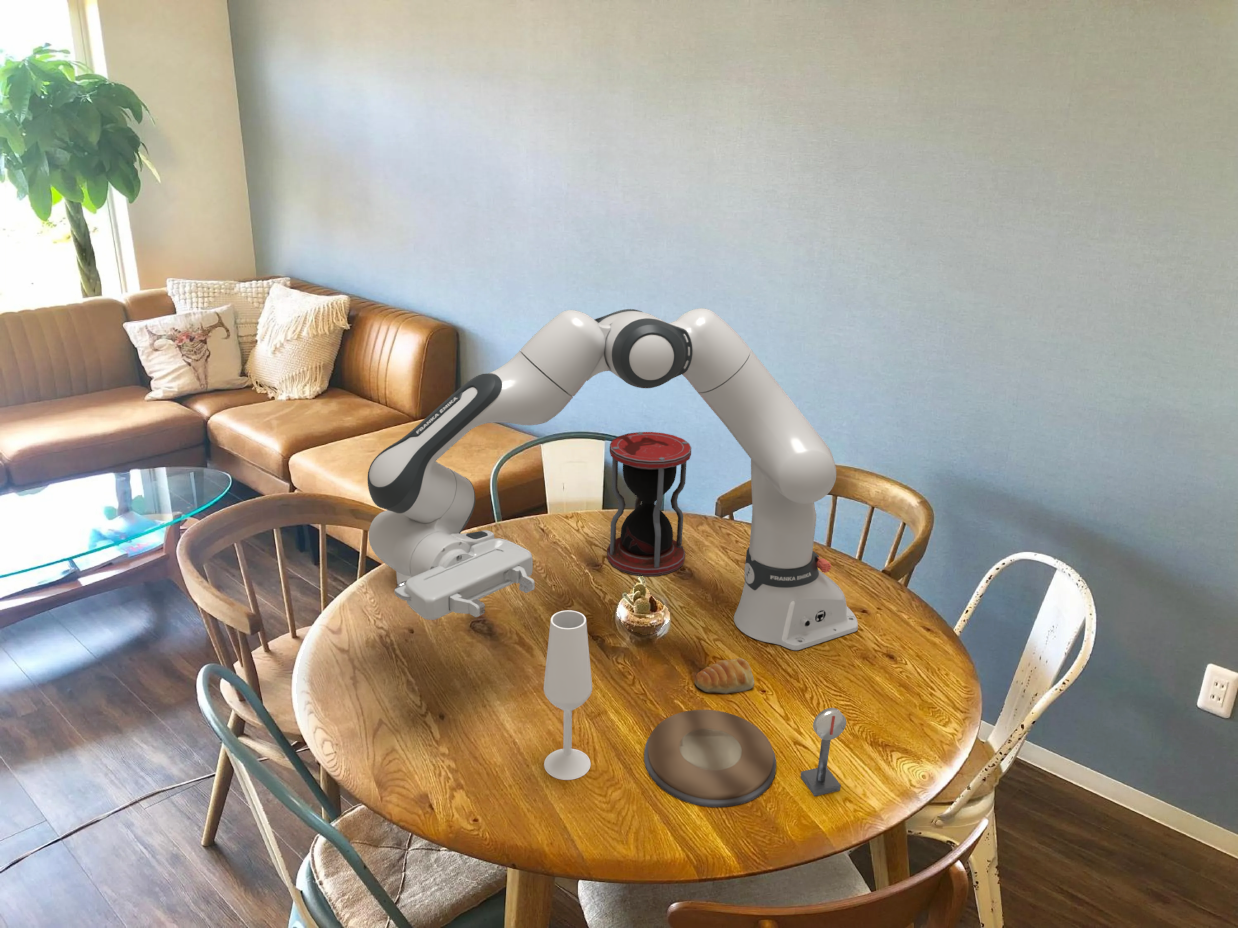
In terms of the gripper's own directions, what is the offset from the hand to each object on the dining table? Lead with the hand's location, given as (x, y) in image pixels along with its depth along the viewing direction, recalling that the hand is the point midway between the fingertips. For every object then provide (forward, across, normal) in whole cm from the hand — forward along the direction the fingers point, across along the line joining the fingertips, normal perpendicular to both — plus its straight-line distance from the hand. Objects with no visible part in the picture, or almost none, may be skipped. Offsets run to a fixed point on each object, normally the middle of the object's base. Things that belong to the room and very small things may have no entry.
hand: (506, 598), depth 131 cm
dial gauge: (+41, +22, +22) cm, 51 cm away
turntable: (+27, +15, +22) cm, 38 cm away
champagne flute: (+12, 0, +22) cm, 26 cm away
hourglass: (-20, +56, +22) cm, 63 cm away
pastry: (+18, +32, +22) cm, 43 cm away
